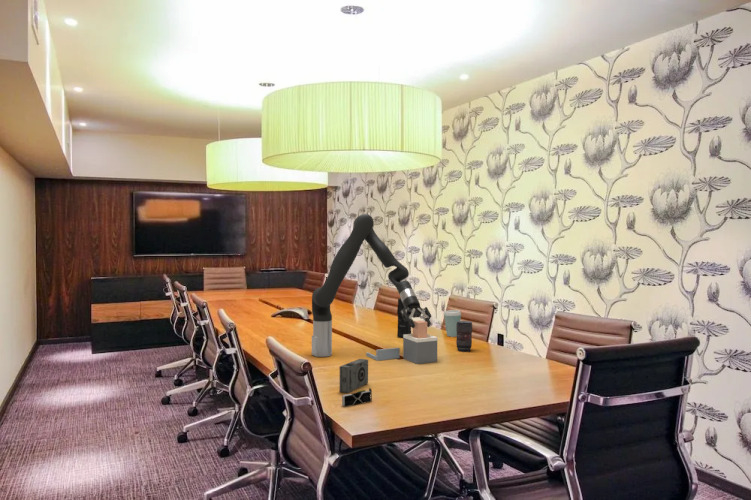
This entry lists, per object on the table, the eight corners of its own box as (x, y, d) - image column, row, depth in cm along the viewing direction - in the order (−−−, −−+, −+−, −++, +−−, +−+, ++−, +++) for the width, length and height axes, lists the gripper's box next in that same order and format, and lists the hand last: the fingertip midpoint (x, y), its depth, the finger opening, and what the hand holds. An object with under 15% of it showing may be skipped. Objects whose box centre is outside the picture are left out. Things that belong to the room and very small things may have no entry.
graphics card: (370, 401, 192) (368, 387, 193) (374, 401, 190) (372, 387, 191) (342, 407, 185) (340, 392, 186) (345, 407, 183) (344, 392, 184)
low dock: (377, 360, 254) (377, 350, 253) (366, 355, 265) (366, 345, 264) (399, 358, 259) (399, 347, 259) (387, 353, 270) (387, 343, 270)
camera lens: (473, 352, 274) (473, 322, 273) (457, 352, 273) (457, 322, 273) (470, 348, 282) (470, 320, 281) (455, 348, 282) (455, 320, 281)
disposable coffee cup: (457, 338, 311) (457, 312, 311) (440, 336, 317) (440, 311, 317) (464, 335, 320) (464, 310, 320) (447, 333, 326) (447, 309, 326)
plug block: (418, 339, 252) (418, 322, 252) (412, 338, 256) (412, 321, 256) (427, 338, 254) (427, 322, 254) (421, 337, 258) (421, 320, 258)
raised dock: (417, 364, 247) (417, 339, 247) (403, 358, 259) (403, 334, 258) (437, 361, 252) (437, 337, 252) (422, 356, 264) (422, 332, 263)
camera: (346, 394, 199) (346, 367, 199) (337, 392, 201) (337, 366, 201) (368, 384, 213) (368, 358, 213) (359, 382, 215) (360, 357, 215)
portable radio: (395, 337, 313) (395, 294, 313) (399, 335, 319) (399, 293, 318) (407, 338, 310) (407, 295, 309) (411, 337, 315) (412, 294, 315)
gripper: (399, 295, 258) (411, 322, 248) (424, 294, 264) (437, 320, 254) (394, 305, 263) (405, 332, 253) (419, 303, 269) (431, 330, 259)
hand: (421, 326), depth 254 cm, fingers open, 8 cm apart
